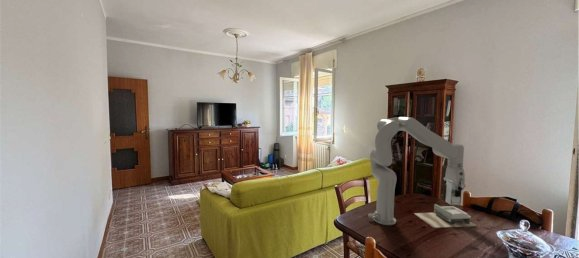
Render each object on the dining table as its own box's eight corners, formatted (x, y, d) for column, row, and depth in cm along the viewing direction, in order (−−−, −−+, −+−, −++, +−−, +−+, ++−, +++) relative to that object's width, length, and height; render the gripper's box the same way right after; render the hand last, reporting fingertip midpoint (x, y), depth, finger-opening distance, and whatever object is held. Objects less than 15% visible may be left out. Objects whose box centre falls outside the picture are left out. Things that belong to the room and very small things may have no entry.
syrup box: (454, 201, 145) (456, 178, 144) (460, 205, 140) (462, 181, 138) (445, 201, 146) (446, 178, 145) (450, 205, 140) (451, 181, 139)
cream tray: (433, 228, 133) (433, 227, 133) (414, 213, 151) (414, 213, 151) (476, 226, 135) (476, 225, 135) (452, 212, 153) (452, 211, 153)
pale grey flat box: (449, 224, 136) (450, 213, 136) (433, 213, 150) (434, 203, 149) (471, 223, 137) (471, 212, 137) (452, 213, 151) (453, 203, 150)
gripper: (473, 168, 132) (471, 199, 134) (449, 161, 150) (448, 189, 151) (460, 168, 132) (458, 200, 133) (438, 161, 149) (437, 189, 151)
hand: (453, 194), depth 142 cm, fingers closed on syrup box, 6 cm apart
